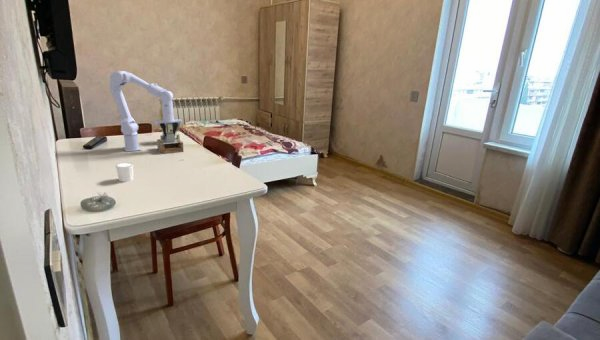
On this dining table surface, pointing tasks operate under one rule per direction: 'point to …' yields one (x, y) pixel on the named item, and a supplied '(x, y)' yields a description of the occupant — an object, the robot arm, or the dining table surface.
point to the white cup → (125, 172)
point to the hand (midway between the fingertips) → (169, 135)
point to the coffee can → (170, 130)
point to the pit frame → (170, 147)
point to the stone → (170, 137)
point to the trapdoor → (166, 141)
